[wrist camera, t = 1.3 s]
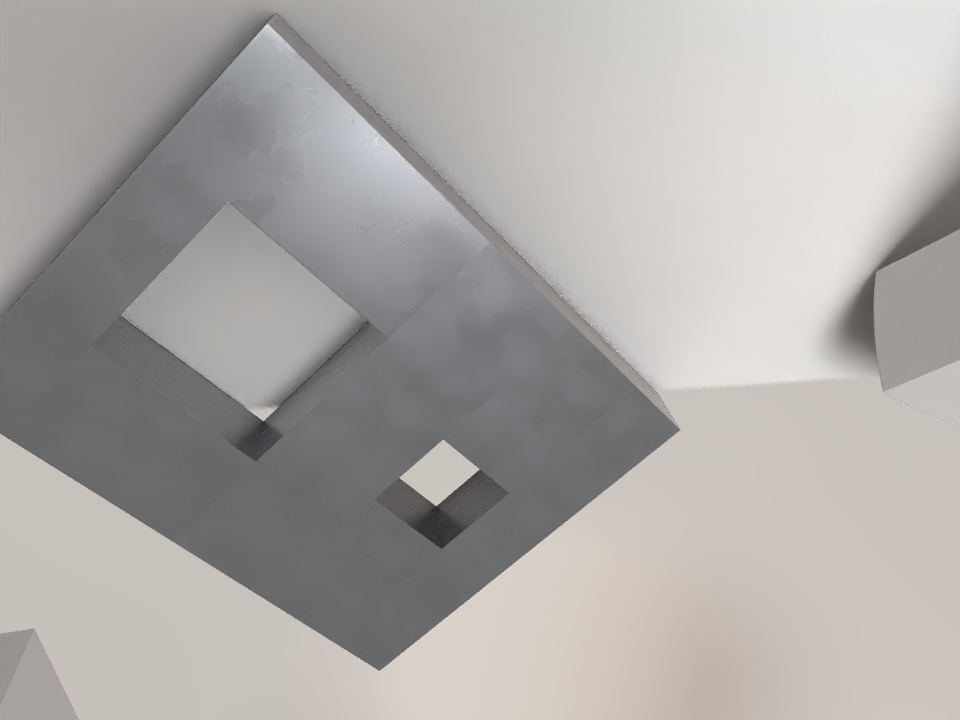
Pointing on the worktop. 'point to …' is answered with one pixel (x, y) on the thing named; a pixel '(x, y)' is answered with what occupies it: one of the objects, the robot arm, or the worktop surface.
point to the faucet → (921, 328)
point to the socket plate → (326, 368)
